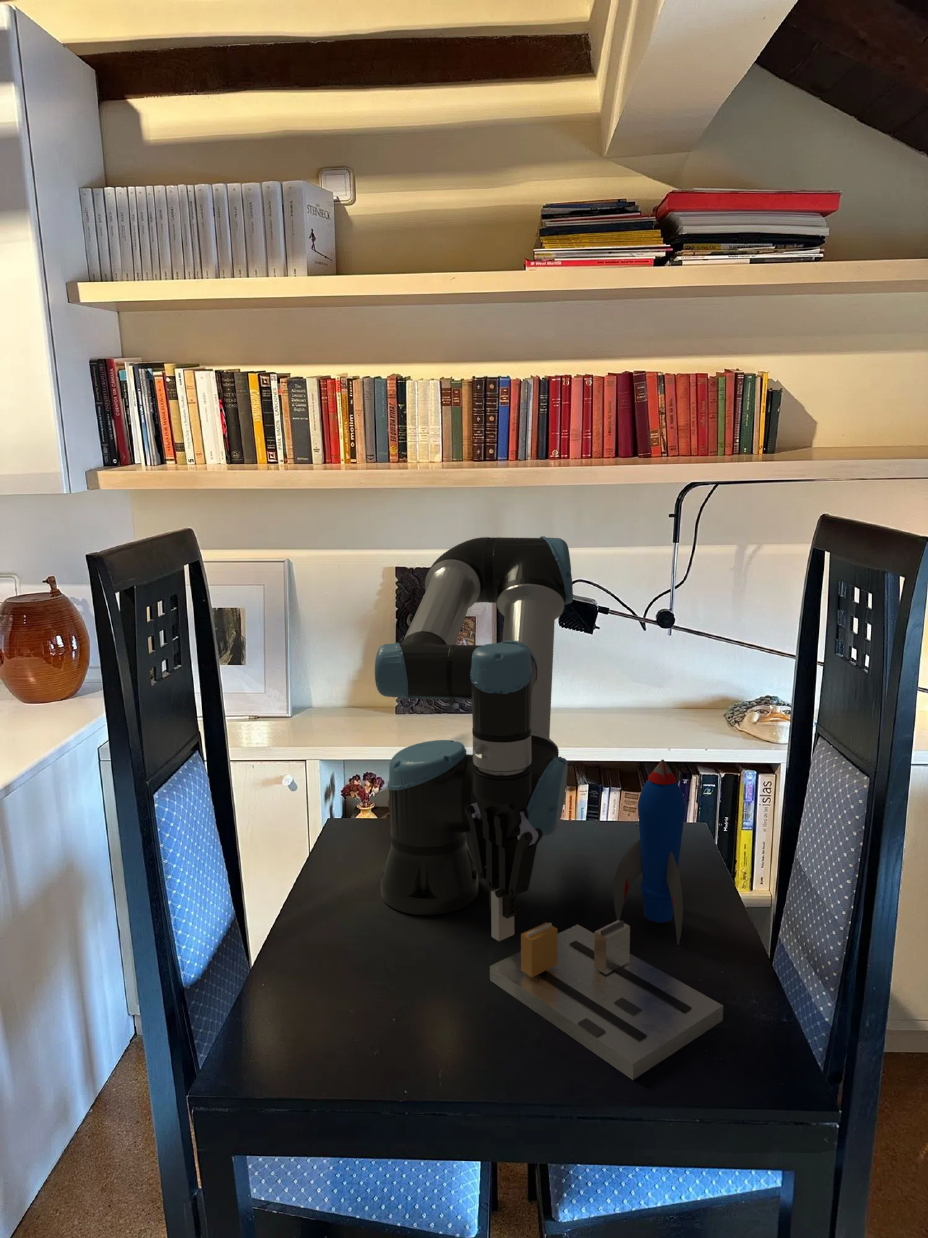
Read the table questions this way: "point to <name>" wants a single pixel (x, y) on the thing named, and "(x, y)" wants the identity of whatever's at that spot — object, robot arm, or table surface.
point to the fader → (539, 949)
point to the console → (611, 999)
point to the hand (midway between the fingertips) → (502, 935)
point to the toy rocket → (656, 851)
